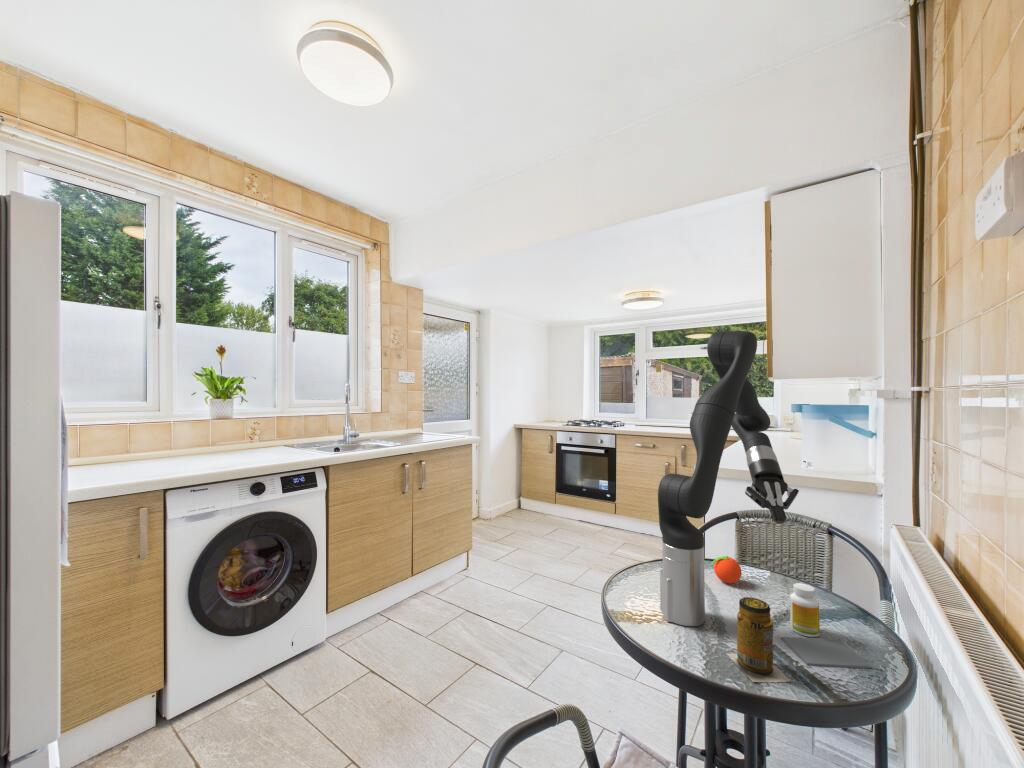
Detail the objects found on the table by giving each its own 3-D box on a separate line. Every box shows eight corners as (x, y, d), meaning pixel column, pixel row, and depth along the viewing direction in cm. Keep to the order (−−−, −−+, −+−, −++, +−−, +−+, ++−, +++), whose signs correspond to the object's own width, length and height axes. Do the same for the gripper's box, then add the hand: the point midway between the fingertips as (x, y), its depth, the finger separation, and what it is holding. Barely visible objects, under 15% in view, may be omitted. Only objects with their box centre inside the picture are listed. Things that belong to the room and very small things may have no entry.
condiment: (761, 653, 85) (760, 594, 85) (791, 682, 77) (790, 615, 77) (726, 654, 85) (725, 594, 85) (752, 683, 76) (751, 616, 77)
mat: (806, 665, 81) (806, 663, 81) (780, 638, 90) (780, 636, 90) (872, 668, 80) (872, 666, 80) (839, 641, 89) (839, 639, 89)
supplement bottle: (824, 639, 90) (824, 593, 90) (796, 636, 91) (796, 591, 91) (812, 625, 95) (811, 582, 96) (786, 623, 96) (785, 580, 97)
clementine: (716, 587, 114) (716, 561, 115) (706, 576, 121) (705, 551, 122) (746, 588, 114) (746, 561, 114) (734, 577, 121) (733, 552, 121)
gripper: (740, 456, 117) (754, 512, 105) (793, 458, 114) (815, 516, 102) (735, 472, 122) (748, 527, 110) (786, 474, 119) (805, 531, 107)
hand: (780, 522), depth 106 cm, fingers closed
